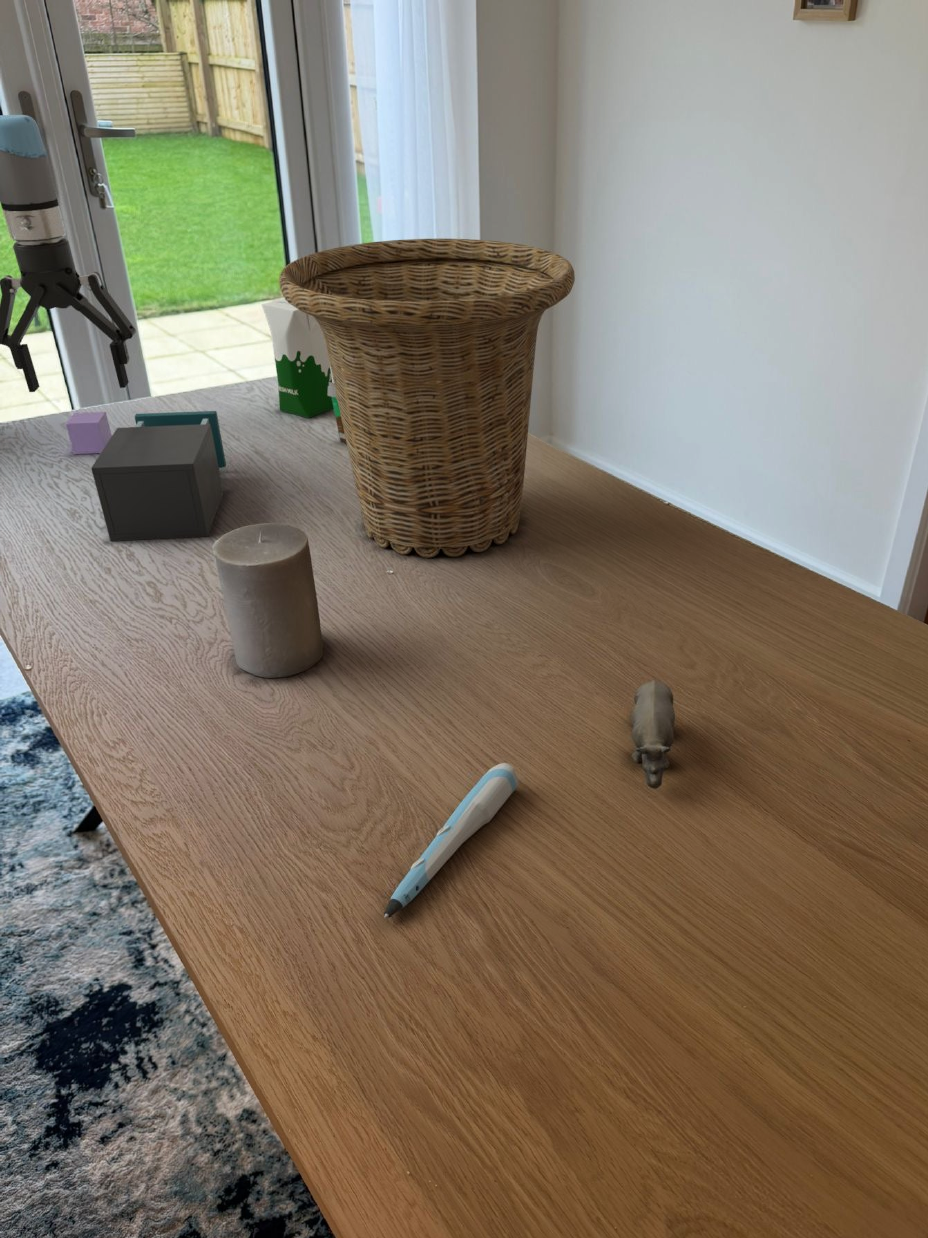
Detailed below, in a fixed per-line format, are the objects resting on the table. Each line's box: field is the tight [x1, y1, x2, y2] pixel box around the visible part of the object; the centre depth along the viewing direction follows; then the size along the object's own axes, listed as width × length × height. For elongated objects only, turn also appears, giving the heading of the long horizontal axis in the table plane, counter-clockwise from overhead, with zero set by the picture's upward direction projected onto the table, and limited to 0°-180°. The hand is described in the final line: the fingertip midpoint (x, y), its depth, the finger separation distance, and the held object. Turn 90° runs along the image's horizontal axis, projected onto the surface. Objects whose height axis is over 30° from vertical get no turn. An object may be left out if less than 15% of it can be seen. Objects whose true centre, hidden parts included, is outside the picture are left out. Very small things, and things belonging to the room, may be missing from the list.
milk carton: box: [261, 297, 334, 419], centre depth 174 cm, size 9×9×20 cm
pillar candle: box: [212, 522, 325, 679], centre depth 109 cm, size 10×10×15 cm
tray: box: [134, 410, 227, 469], centre depth 150 cm, size 19×12×8 cm, turn 6°
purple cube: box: [65, 411, 113, 455], centre depth 163 cm, size 5×5×5 cm
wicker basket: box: [278, 238, 576, 559], centre depth 131 cm, size 35×35×33 cm
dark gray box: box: [90, 424, 224, 542], centre depth 140 cm, size 15×13×10 cm
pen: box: [383, 762, 519, 919], centre depth 86 cm, size 19×3×3 cm, turn 152°
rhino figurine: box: [630, 679, 676, 790], centre depth 95 cm, size 4×14×6 cm, turn 174°
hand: (79, 387), depth 159 cm, fingers open, 13 cm apart
